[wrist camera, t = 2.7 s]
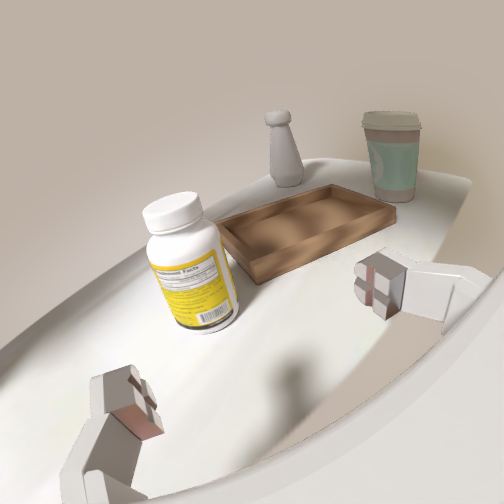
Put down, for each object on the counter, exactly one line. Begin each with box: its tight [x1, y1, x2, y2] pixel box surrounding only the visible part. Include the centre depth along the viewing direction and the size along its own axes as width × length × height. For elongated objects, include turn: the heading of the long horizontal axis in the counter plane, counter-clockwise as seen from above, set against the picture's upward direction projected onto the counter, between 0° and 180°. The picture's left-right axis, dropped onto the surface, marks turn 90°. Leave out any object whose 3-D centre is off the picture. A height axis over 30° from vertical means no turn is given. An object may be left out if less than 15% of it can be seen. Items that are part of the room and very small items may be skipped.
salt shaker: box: [265, 110, 304, 188], centre depth 46 cm, size 6×6×13 cm
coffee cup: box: [362, 111, 422, 203], centre depth 34 cm, size 8×8×12 cm
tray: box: [214, 184, 396, 285], centre depth 32 cm, size 18×12×2 cm, turn 114°
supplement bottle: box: [142, 192, 239, 334], centre depth 21 cm, size 5×5×10 cm
